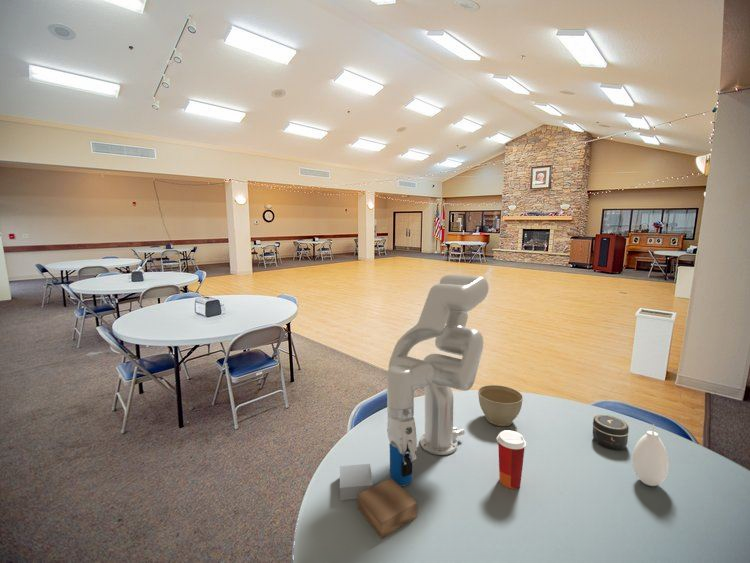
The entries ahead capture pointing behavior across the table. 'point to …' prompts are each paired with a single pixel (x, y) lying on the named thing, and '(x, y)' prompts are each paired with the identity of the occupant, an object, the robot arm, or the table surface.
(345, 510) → the table surface
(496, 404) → the planter bowl
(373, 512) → the walnut block
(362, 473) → the grey square block
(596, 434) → the jar
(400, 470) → the beverage can
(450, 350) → the robot arm
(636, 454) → the white egg shaped candle
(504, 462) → the paper cup
